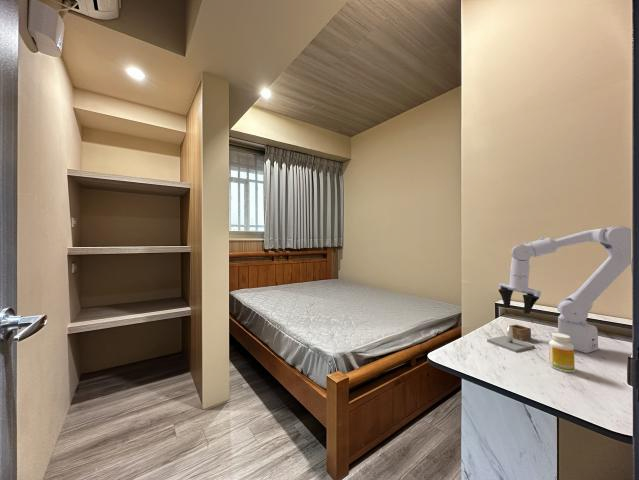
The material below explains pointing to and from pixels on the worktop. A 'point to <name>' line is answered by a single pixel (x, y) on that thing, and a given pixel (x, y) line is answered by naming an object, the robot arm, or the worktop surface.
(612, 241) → the robot arm
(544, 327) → the worktop surface
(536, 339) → the worktop surface
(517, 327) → the square ring
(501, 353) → the worktop surface
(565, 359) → the supplement bottle
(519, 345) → the peg base
